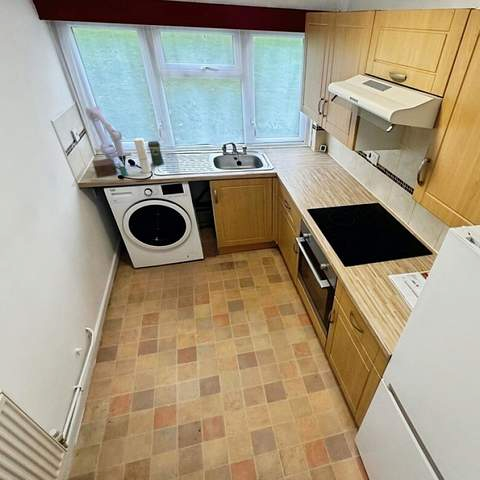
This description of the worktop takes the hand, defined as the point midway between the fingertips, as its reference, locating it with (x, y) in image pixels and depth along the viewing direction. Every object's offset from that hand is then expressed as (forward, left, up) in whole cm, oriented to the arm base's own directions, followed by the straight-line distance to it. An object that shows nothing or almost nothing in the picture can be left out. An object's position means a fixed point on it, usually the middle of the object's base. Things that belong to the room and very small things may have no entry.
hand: (124, 165), depth 243 cm
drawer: (+8, -8, -3) cm, 12 cm away
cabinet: (+11, -10, -4) cm, 16 cm away
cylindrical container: (-4, +17, -4) cm, 18 cm away
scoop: (+11, +5, -4) cm, 12 cm away
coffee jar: (-23, +15, -4) cm, 28 cm away
